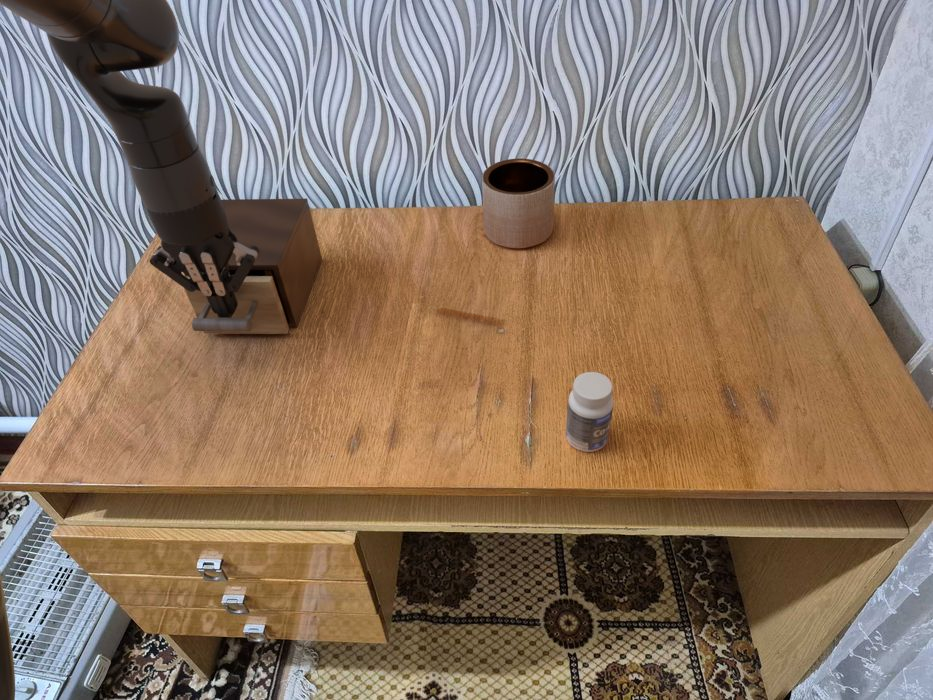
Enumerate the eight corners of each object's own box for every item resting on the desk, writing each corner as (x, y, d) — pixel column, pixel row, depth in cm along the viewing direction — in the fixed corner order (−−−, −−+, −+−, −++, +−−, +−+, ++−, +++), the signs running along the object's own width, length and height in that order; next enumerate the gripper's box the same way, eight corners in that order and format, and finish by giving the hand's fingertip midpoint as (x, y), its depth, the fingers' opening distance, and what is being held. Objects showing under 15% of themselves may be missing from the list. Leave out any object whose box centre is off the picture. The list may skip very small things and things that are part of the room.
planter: (542, 256, 98) (544, 200, 92) (473, 244, 101) (470, 189, 95) (560, 217, 105) (563, 162, 99) (496, 207, 108) (494, 153, 102)
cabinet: (297, 328, 90) (277, 265, 82) (207, 327, 91) (180, 265, 83) (322, 259, 101) (307, 198, 93) (242, 259, 102) (221, 199, 94)
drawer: (276, 361, 84) (257, 308, 78) (190, 360, 85) (165, 308, 79) (312, 267, 98) (298, 216, 92) (237, 267, 99) (219, 217, 93)
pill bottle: (597, 459, 71) (604, 409, 66) (558, 442, 73) (561, 391, 68) (615, 429, 74) (623, 378, 68) (576, 413, 76) (581, 362, 70)
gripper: (103, 210, 68) (165, 333, 81) (227, 209, 67) (271, 334, 79) (134, 174, 74) (188, 294, 86) (249, 172, 73) (287, 294, 85)
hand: (227, 313), depth 83 cm, fingers closed
